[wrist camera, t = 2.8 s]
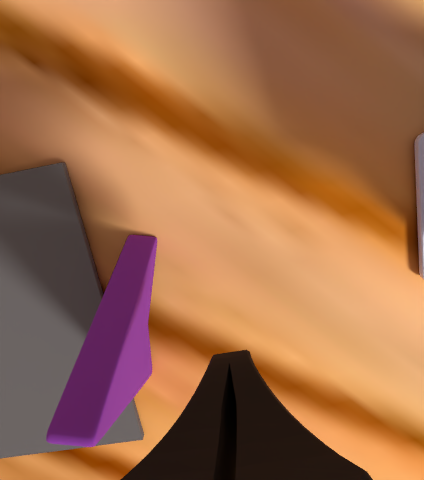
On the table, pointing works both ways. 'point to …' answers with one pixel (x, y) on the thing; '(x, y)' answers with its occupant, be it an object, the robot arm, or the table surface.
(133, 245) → the arrowhead
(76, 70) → the table surface
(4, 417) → the mat
